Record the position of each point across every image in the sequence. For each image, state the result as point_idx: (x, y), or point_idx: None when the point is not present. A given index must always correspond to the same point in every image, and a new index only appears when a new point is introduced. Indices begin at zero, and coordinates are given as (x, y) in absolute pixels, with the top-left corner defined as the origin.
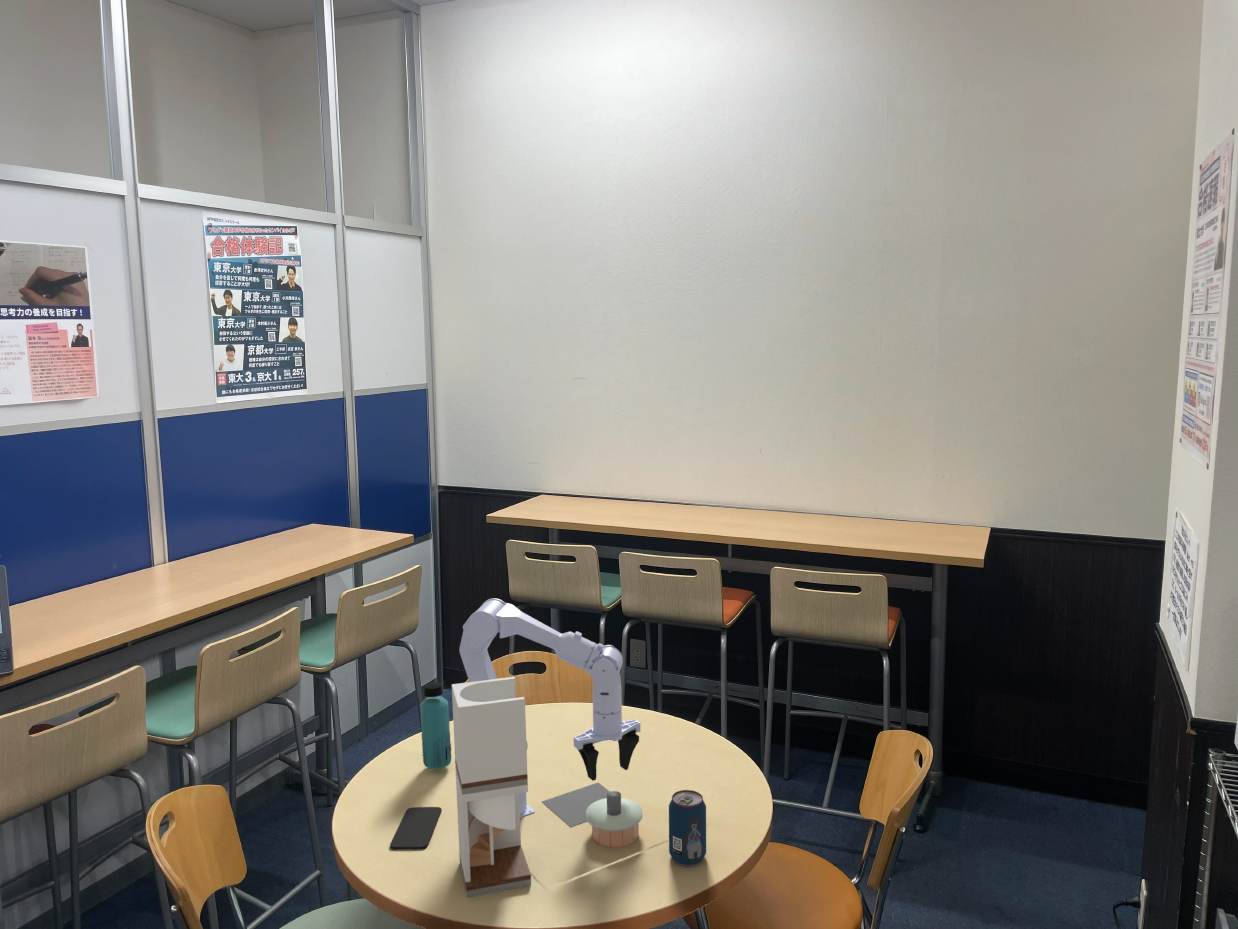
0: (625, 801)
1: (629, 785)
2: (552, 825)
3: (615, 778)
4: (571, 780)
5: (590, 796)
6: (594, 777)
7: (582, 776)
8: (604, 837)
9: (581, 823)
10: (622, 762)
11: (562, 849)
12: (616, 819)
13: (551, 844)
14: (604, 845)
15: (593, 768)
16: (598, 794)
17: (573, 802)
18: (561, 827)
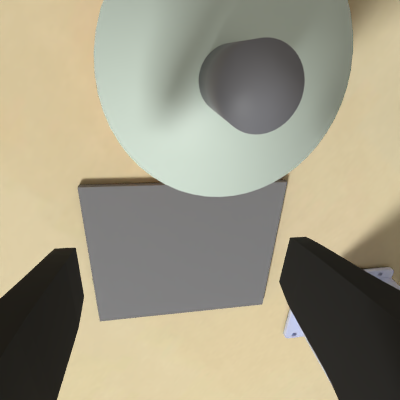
0: (136, 127)
1: None
2: (303, 217)
3: None
4: (149, 348)
5: (154, 278)
6: (314, 244)
7: (117, 353)
8: None
9: None
10: (71, 305)
11: (366, 106)
12: (265, 10)
13: (365, 145)
14: None
15: (376, 282)
16: (130, 277)
17: (207, 273)
18: (294, 199)
